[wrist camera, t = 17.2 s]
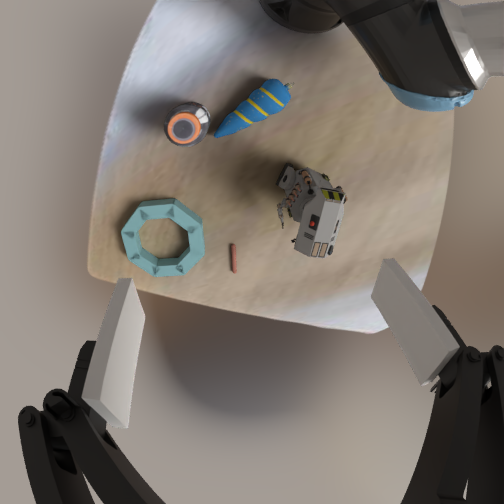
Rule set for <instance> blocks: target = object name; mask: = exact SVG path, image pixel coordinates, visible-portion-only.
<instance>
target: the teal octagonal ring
mask: <svg viewBox="0 0 504 504" xmlns="http://www.w3.org/2000/svg"><path fill="white" fill-rule="evenodd" d="M160 218H170V219H172V220H173V221H174V222H176V223H177V224H179V225H180V226H181V227H183V228H184V229H185V230H187V231H188V236H189V244H190V246H189V247H188V248H187V249H186V250H185V251H184V252H183V253H182V254H181V256H180V257H179V258H165V259H158V258H157V257H155V256H154V255H152V254H151V253H149V252H148V251H146V250H145V249H143V248H142V246H141V242H140V237H139V233H138V230H139V229H140V228H141V226H142V225H143V224H144V222H145V221H146V220H148V219H160ZM121 234H122V238H123V242H124V246H125V249H126V253H127V256H128V260H129V261H131V262H132V263H134V264H135V265H137V266H138V267H140V268H141V269H143V270H144V271H146V272H147V273H149V274H151V275H152V276H155V277H161V276H178V275H185V274H186V273H187V272H188V271H189V270H190V269H191V268H192V267H193V266H194V265H195V264H196V263H197V262H198V261H199V260H200V259H201V258H202V257H203V256H204V254H205V244H204V235H203V225H202V219H201V218H200V217H199V216H198V215H196V214H195V213H194V212H193V211H191V210H190V209H189V208H187V207H186V206H185V205H183V204H182V203H181V202H180V201H178V200H177V199H175V198H172V199H161V200H151V201H142V202H141V203H140V205H139V206H138V207H137V209H136V210H135V211H134V213H133V214H132V216H131V217H130V218H129V220H128V221H127V222H126V224H125V225H124V227H123V229H122V231H121Z"/></svg>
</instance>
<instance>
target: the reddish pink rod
mask: <svg viewBox="0 0 504 504" xmlns="http://www.w3.org/2000/svg"><path fill="white" fill-rule="evenodd" d="M231 250H232V270H233V273H236V246H235V245H234V244H233V245H232V246H231Z"/></svg>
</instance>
